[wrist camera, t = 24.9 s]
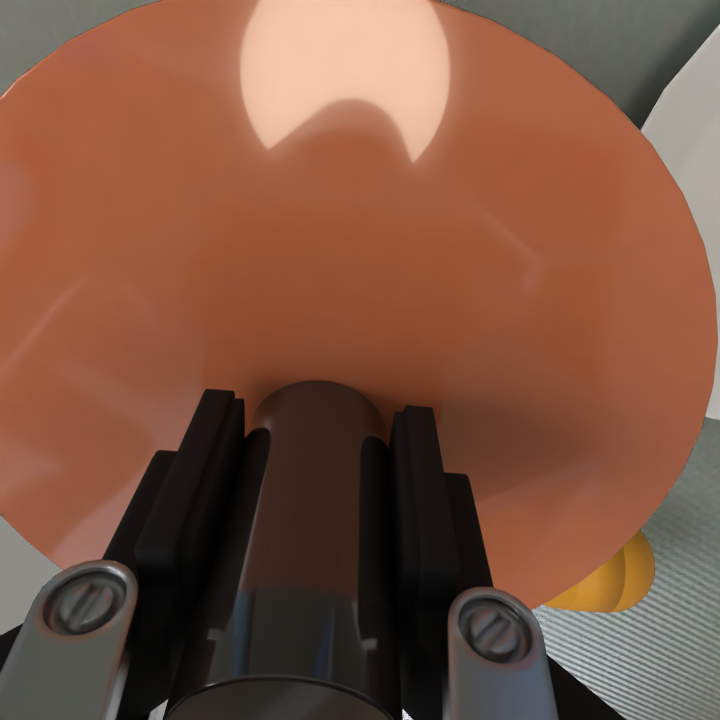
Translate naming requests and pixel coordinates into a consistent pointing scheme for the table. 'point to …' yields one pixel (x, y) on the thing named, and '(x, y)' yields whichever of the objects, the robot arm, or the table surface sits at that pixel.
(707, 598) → the table surface
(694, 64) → the plate
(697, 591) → the table surface
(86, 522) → the lid
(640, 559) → the orange ribbed oval piece
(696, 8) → the table surface
